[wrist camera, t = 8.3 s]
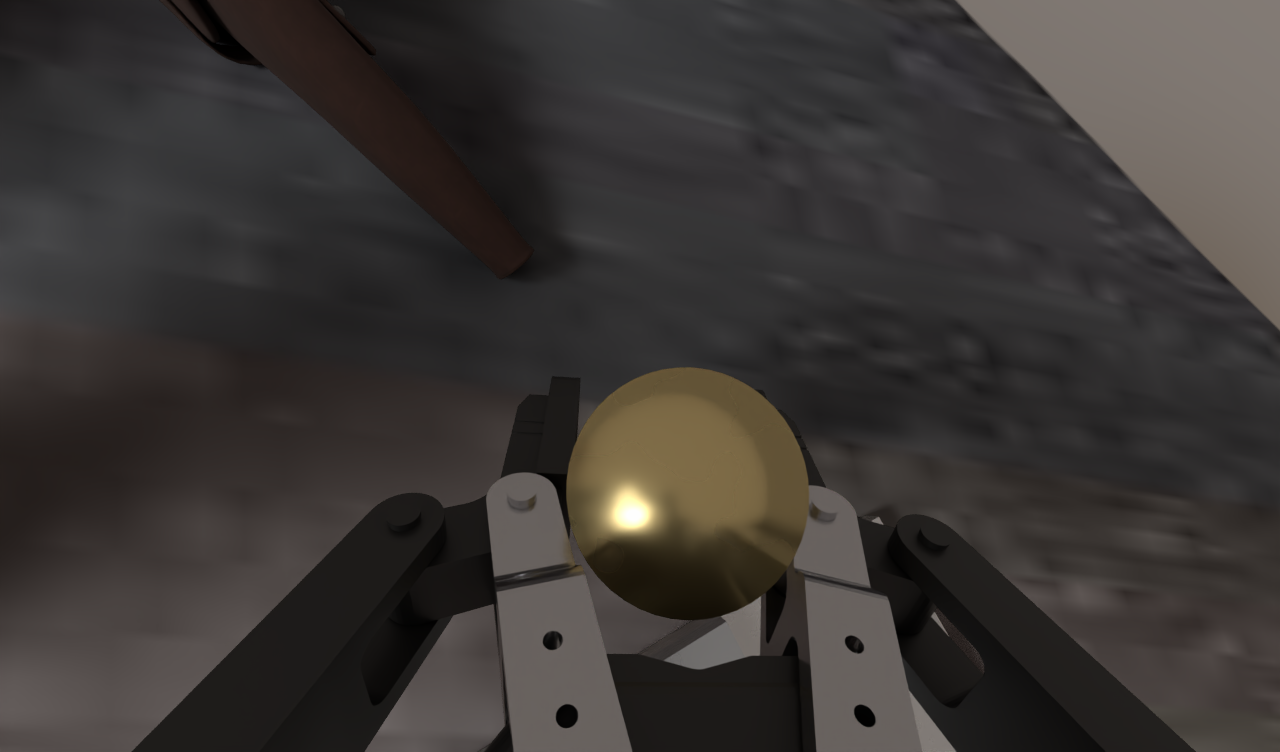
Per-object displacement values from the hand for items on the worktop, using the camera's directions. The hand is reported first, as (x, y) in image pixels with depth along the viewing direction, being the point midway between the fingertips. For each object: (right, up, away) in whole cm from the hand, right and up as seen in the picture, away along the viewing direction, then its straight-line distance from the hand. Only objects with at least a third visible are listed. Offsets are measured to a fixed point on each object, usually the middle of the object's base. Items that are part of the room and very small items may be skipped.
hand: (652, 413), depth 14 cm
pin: (-1, -3, +4) cm, 5 cm away
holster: (-17, +15, +13) cm, 26 cm away
